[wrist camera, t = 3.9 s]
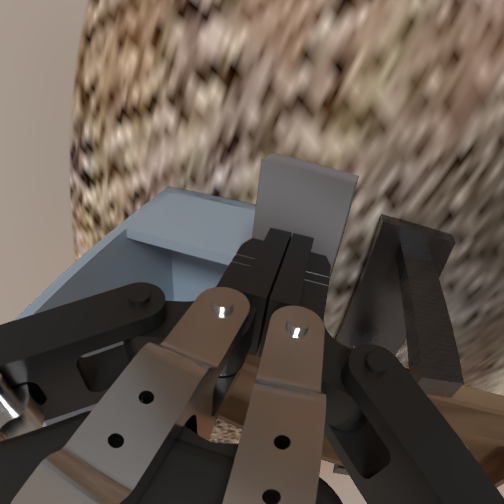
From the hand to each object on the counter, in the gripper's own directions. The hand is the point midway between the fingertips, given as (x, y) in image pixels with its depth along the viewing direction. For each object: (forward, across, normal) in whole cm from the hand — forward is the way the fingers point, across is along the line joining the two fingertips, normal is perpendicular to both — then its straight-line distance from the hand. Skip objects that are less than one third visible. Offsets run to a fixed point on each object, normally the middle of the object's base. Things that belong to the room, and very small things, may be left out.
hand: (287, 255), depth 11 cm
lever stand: (+9, -7, +8) cm, 14 cm away
